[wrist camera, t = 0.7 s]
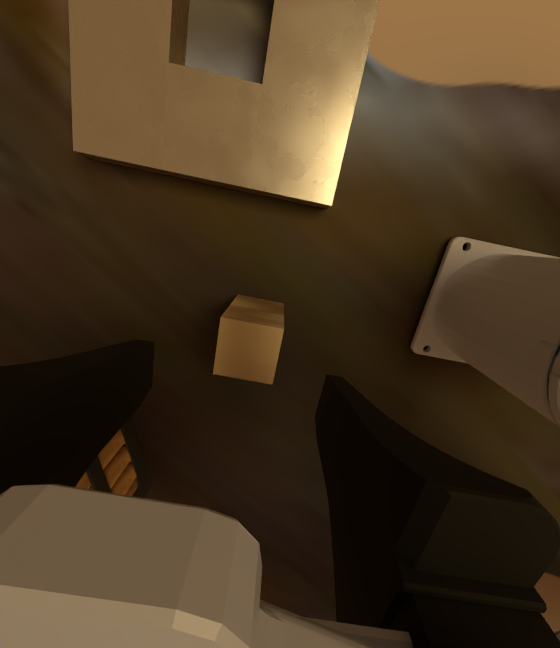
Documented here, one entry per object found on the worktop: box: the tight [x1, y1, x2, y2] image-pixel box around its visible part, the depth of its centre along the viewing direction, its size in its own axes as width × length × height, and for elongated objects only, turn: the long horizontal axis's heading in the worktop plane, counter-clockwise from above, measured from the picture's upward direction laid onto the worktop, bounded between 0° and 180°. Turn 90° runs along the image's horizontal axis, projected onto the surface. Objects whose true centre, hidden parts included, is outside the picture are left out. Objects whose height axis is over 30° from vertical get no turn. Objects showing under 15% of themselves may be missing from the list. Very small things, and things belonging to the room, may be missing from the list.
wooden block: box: [213, 295, 284, 384], centre depth 17 cm, size 3×3×6 cm
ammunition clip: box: [75, 418, 151, 498], centre depth 17 cm, size 11×2×12 cm, turn 6°
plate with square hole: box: [68, 0, 380, 209], centre depth 14 cm, size 14×14×2 cm
